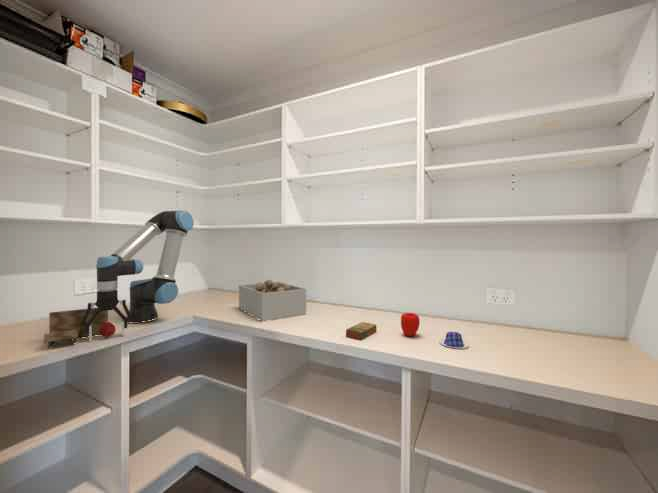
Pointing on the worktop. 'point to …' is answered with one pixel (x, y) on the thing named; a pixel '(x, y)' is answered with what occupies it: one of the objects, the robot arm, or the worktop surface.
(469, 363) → the worktop surface
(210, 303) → the worktop surface
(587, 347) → the worktop surface
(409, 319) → the red rounded piece
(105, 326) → the onion
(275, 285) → the lumpy brown heap
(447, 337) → the blue plaid bucket hat
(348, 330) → the carton
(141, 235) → the robot arm
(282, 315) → the storage crate
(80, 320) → the wallboard
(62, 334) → the cleat shelf
